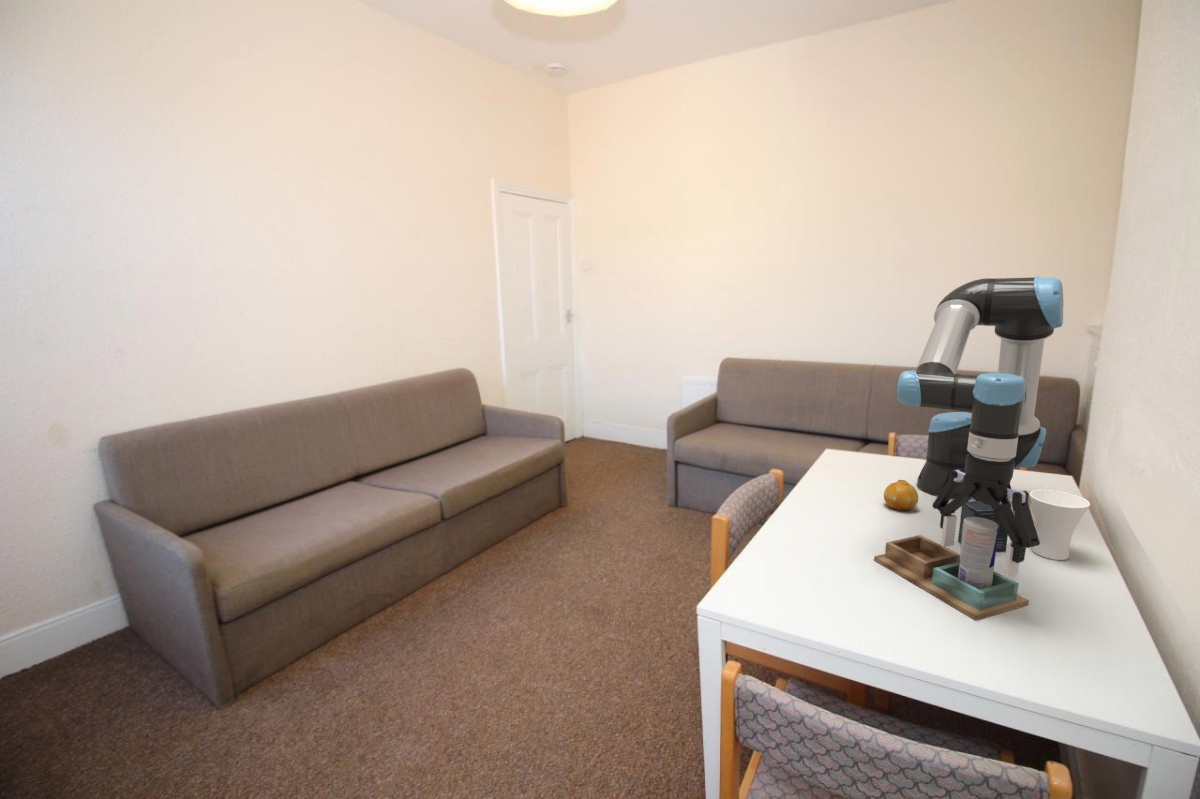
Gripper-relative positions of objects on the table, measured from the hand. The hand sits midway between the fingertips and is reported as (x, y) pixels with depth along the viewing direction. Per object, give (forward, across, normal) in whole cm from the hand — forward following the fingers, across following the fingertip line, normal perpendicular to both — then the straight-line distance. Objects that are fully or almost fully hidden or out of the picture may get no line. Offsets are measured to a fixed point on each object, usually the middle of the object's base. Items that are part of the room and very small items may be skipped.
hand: (976, 559), depth 107 cm
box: (+8, -14, +21) cm, 27 cm away
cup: (+8, -6, +32) cm, 34 cm away
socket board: (+8, -6, 0) cm, 10 cm away
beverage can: (+7, 0, 0) cm, 7 cm away
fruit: (+8, -38, +22) cm, 45 cm away
